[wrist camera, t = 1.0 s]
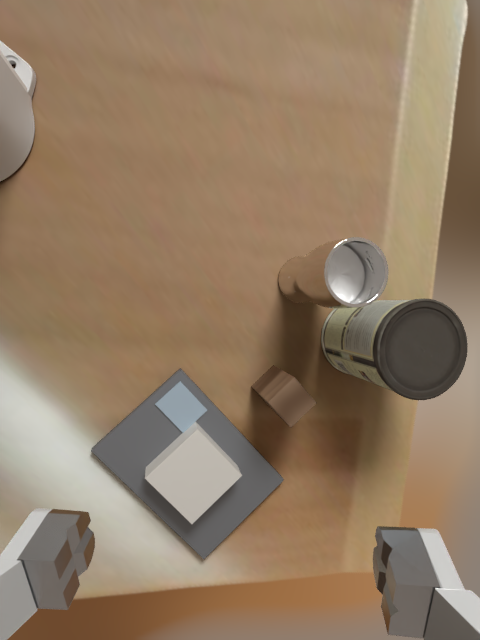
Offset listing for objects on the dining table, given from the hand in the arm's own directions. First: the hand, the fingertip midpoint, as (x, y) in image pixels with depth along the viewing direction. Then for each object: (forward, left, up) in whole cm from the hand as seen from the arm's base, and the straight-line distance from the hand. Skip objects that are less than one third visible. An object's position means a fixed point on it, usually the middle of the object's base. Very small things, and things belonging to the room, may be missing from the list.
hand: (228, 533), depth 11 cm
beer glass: (+4, +18, -38) cm, 43 cm away
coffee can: (+15, +19, -38) cm, 46 cm away
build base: (+12, -8, -38) cm, 41 cm away
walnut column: (+12, +6, -38) cm, 41 cm away
